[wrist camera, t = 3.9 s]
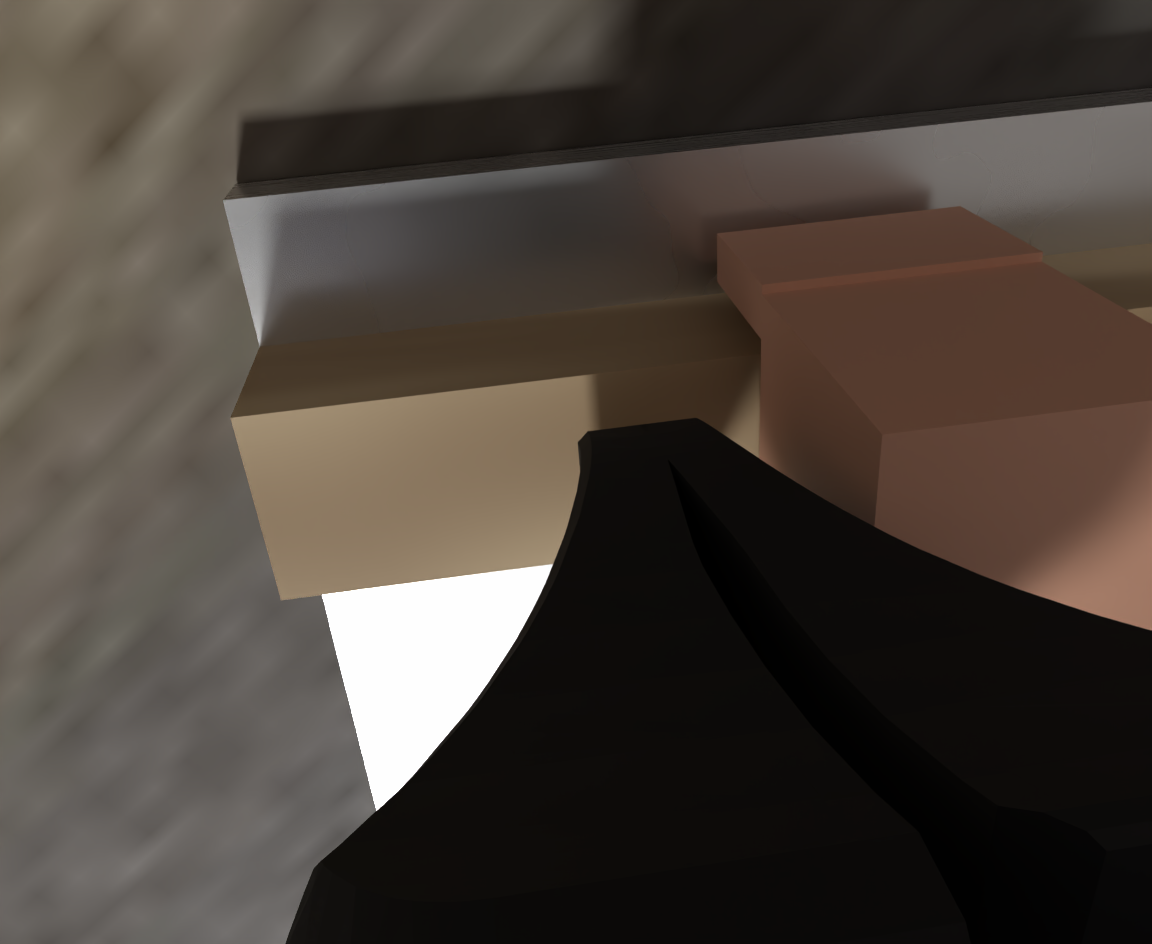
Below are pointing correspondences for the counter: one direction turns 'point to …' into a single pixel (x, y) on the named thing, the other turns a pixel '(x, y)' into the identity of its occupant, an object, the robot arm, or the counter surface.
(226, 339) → the counter surface
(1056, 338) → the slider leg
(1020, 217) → the flange plate
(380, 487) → the bar
